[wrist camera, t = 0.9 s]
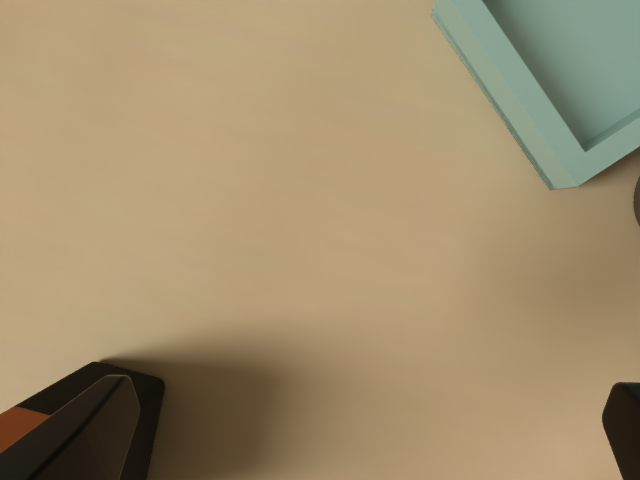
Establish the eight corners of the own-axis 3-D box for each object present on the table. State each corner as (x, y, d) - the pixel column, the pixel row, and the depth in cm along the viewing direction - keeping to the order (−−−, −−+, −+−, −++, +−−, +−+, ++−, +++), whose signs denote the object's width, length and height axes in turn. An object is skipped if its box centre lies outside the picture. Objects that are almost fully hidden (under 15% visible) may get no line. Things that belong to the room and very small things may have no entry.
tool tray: (745, 61, 20) (803, 39, 17) (549, 189, 21) (577, 186, 18) (620, -123, 20) (660, -174, 17) (431, 15, 21) (441, -14, 18)
